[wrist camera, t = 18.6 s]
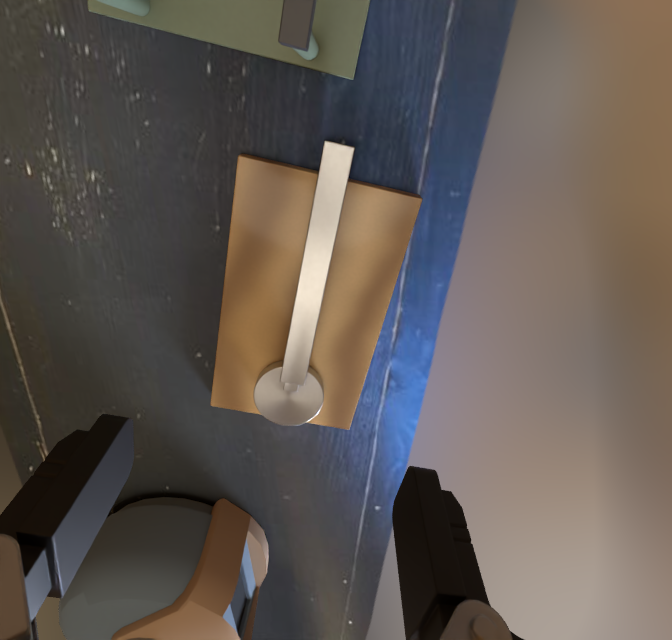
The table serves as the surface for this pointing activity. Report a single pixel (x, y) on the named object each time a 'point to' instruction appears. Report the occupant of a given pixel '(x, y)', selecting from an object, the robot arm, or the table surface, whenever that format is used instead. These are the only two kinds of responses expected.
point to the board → (282, 279)
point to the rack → (259, 27)
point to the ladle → (307, 301)
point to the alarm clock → (168, 574)
